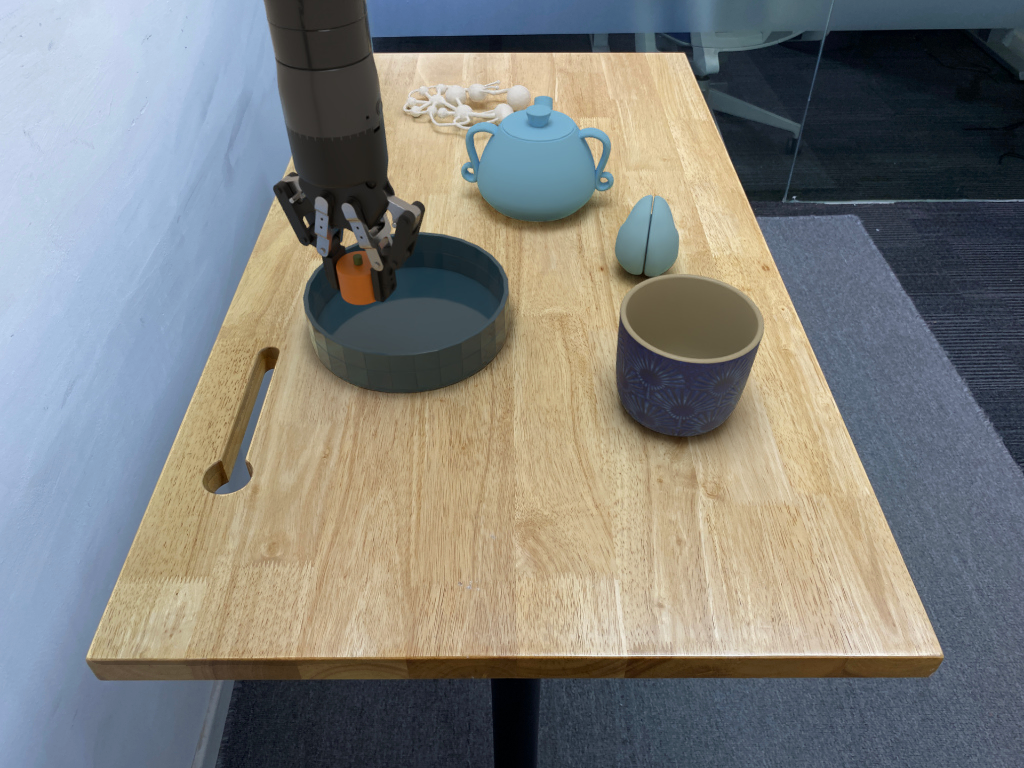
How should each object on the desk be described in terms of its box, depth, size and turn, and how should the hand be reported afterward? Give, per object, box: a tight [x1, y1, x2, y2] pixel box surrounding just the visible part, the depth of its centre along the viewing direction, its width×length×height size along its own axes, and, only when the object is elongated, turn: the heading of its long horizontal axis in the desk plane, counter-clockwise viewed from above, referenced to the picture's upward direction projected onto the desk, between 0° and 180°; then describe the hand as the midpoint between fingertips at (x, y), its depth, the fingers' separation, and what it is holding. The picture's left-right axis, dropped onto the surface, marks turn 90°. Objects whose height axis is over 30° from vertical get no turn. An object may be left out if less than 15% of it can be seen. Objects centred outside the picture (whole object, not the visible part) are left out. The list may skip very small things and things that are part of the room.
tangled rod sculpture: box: [402, 79, 532, 131], centre depth 119 cm, size 19×14×4 cm
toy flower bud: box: [614, 194, 680, 278], centre depth 89 cm, size 7×9×12 cm
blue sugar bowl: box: [460, 95, 615, 223], centre depth 99 cm, size 20×20×13 cm
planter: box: [615, 273, 765, 437], centre depth 71 cm, size 12×12×11 cm
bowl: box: [302, 231, 510, 394], centre depth 81 cm, size 21×21×5 cm
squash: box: [336, 251, 376, 305], centre depth 70 cm, size 4×4×4 cm
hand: (362, 290), depth 71 cm, fingers closed on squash, 4 cm apart
